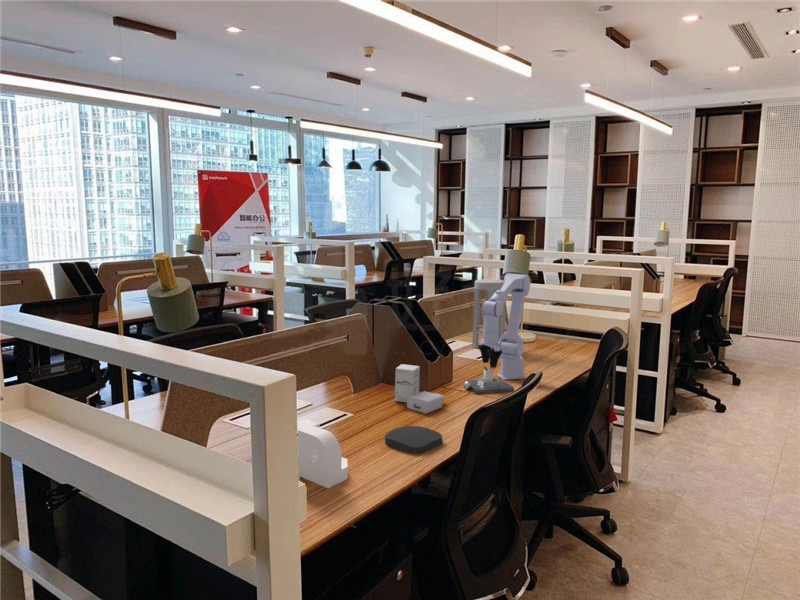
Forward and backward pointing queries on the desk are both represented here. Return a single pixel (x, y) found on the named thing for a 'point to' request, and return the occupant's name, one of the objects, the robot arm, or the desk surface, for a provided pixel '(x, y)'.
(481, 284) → the stool
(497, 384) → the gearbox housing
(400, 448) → the media streaming box
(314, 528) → the desk surface
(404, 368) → the supplement box
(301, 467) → the tape dispenser
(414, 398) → the charger
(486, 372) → the spout can
